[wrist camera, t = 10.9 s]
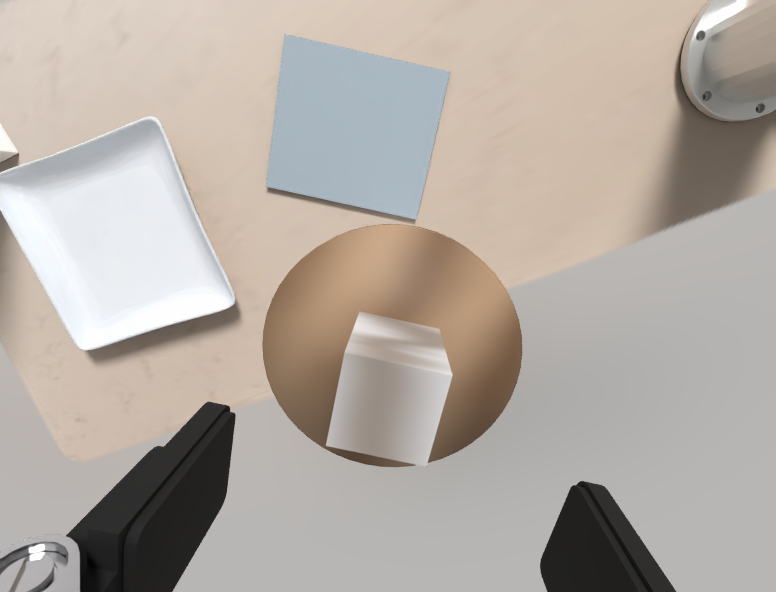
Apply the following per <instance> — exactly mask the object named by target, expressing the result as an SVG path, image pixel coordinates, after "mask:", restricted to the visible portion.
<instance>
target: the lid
mask: <svg viewBox="0 0 776 592" xmlns="http://www.w3.org/2000/svg"><path fill="white" fill-rule="evenodd" d="M263 359H264V365H265V369H266V374H267V378H268V380H269V383H270V386H271V389H272V391H273V393H274V395H275V397H276V399H277V401H278V403H279V405H280V406H281V407H282V409H283V410H284V412H285V413H286V415H287V416H288V417H289V419H290V420H291V421H292V422H293V423H294V424H295V425H296V426H297V428H298V429H300V430H301V431H302V432H303V433H304V434H305V435H306V436H307V437H309V438H310V439H311V440H313V441H314V442H316V443H317V444H319V445H320V446H321V447H323V448H325V449H327V450H329V451H330V452H332V453H334V454H336V455H339V456H342V457H344V458H346V459H349V460H352V461H356V462H359V463H363V464H368V465H375V466H382V467H404V466H414V465H420V466H425V467H426V466H427V463H429V462H432V461H435V460H439V459H442V458H444V457H447V456H449V455H451V454H453V453H456V452H458V451H459V450H461V449H463V448H464V447H466V446H468V445H469V444H471V443H472V442H473V441H475V440H476V439H477V438H479V437H480V436H481V435H482V434H483V433H484V432H485V431H486V430H487V429H488V428H489V427H490V426H491V425H492V424H493V423H494V422H495V421H496V419H497V418H498V417H499V416H500V414H501V413H502V412H503V410H504V408H505V407H506V405H507V403H508V402H509V400H510V398H511V396H512V393H513V391H514V388H515V386H516V383H517V380H518V376H519V372H520V368H521V359H522V335H521V329H520V324H519V319H518V316H517V313H516V310H515V307H514V304H513V302H512V300H511V298H510V296H509V294H508V292H507V290H506V289H505V287H504V286H503V284H502V283H501V281H500V280H499V278H498V277H497V275H496V274H495V273H494V272H493V271H492V270H491V269H490V268H489V267H488V266H487V265H486V263H485V262H483V261H482V260H481V259H480V258H479V257H477V256H476V255H475V254H474V253H473V252H471V251H470V250H469V249H468V248H466V247H465V246H463V245H461V244H460V243H458V242H456V241H455V240H453V239H451V238H449V237H447V236H444V235H442V234H440V233H438V232H435V231H431V230H428V229H424V228H421V227H415V226H409V225H399V224H383V225H374V226H367V227H363V228H359V229H355V230H351V231H348V232H346V233H343V234H341V235H338V236H336V237H334V238H332V239H330V240H329V241H327V242H325V243H323V244H322V245H320V246H318V247H317V248H315V249H314V250H313V251H311V252H310V253H309V254H307V255H306V256H305V257H304V258H302V259H301V260H300V261H299V262H298V263H297V264H296V265H295V266H294V267H293V268H292V269H291V270H290V272H289V273H288V274H287V276H286V277H285V278H284V280H283V281H282V283H281V284H280V286H279V287H278V289H277V291H276V293H275V295H274V297H273V299H272V301H271V304H270V307H269V309H268V312H267V316H266V320H265V325H264V330H263Z"/></svg>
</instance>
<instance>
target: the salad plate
mask: <svg viewBox="0 0 776 592" xmlns="http://www.w3.org/2000/svg"><path fill="white" fill-rule="evenodd" d="M0 211H1V212H2V214H3V216H4V218H5V220H6V222H7V223H8V225H9V227H10V229H11V231H12V232H13V234H14V236H15V238H16V240H17V241H18V243H19V245H20V247H21V249H22V250H23V252H24V254H25V256H26V257H27V259H28V261H29V263H30V264H31V266H32V268H33V270H34V272H35V273H36V275H37V277H38V279H39V281H40V282H41V284H42V286H43V288H44V289H45V291H46V293H47V295H48V297H49V298H50V300H51V302H52V304H53V306H54V307H55V309H56V311H57V313H58V315H59V316H60V318H61V320H62V322H63V324H64V326H65V328H66V329H67V331H68V333H69V335H70V336H71V338H72V340H73V341H74V343H75V344H76V346H77V347H78V348H79V349H81V350H84V351H89V350H94V349H98V348H101V347H104V346H107V345H110V344H113V343H116V342H119V341H122V340H125V339H128V338H131V337H134V336H137V335H140V334H144V333H147V332H150V331H153V330H156V329H159V328H163V327H166V326H169V325H173V324H177V323H180V322H184V321H187V320H191V319H195V318H199V317H202V316H206V315H210V314H214V313H217V312H220V311H223V310H226V309H228V308H230V307H231V306H233V305H234V304H235V301H236V295H235V292H234V290H233V288H232V285H231V283H230V281H229V279H228V277H227V275H226V273H225V271H224V269H223V267H222V265H221V263H220V261H219V259H218V257H217V255H216V253H215V251H214V249H213V247H212V244H211V242H210V240H209V238H208V236H207V234H206V232H205V230H204V228H203V225H202V223H201V221H200V219H199V216H198V214H197V212H196V209H195V207H194V204H193V202H192V199H191V197H190V194H189V192H188V190H187V187H186V184H185V182H184V179H183V176H182V174H181V171H180V168H179V166H178V163H177V160H176V158H175V155H174V153H173V150H172V147H171V145H170V142H169V140H168V137H167V135H166V133H165V130H164V128H163V126H162V124H161V123H160V121H159V120H158V119H157V118H155V117H146V118H143V119H140V120H137V121H135V122H132V123H129V124H127V125H125V126H122V127H120V128H117V129H115V130H113V131H110V132H108V133H105V134H103V135H101V136H98V137H96V138H93V139H91V140H88V141H86V142H83V143H81V144H78V145H76V146H73V147H71V148H68V149H66V150H63V151H60V152H58V153H55V154H53V155H50V156H47V157H44V158H41V159H38V160H35V161H31V162H28V163H25V164H22V165H19V166H16V167H13V168H10V169H7V170H5V171H2V172H0Z"/></svg>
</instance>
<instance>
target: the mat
mask: <svg viewBox="0 0 776 592" xmlns="http://www.w3.org/2000/svg"><path fill="white" fill-rule="evenodd" d="M449 75H450V72H449V71H444V70H440V69H436V68H431V67H427V66H422V65H418V64H414V63H409V62H405V61H401V60H396V59H392V58H387V57H383V56H379V55H374V54H370V53H365V52H361V51H357V50H352V49H348V48H344V47H339V46H335V45H330V44H326V43H322V42H317V41H313V40H308V39H304V38H300V37H295V36H291V35H286V34H285V36H284V44H283V52H282V61H281V69H280V77H279V85H278V93H277V101H276V109H275V118H274V126H273V134H272V142H271V150H270V158H269V167H268V175H267V183H266V187H270V188H275V189H279V190H284V191H288V192H293V193H297V194H302V195H307V196H311V197H316V198H320V199H325V200H329V201H334V202H338V203H343V204H348V205H352V206H357V207H361V208H366V209H370V210H375V211H379V212H384V213H389V214H393V215H398V216H402V217H407V218H411V219H417V215H418V211H419V206H420V202H421V197H422V193H423V189H424V184H425V180H426V176H427V171H428V167H429V162H430V158H431V154H432V149H433V145H434V141H435V136H436V132H437V127H438V123H439V119H440V114H441V110H442V105H443V101H444V97H445V92H446V88H447V84H448V79H449Z"/></svg>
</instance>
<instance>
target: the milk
mask: <svg viewBox="0 0 776 592" xmlns="http://www.w3.org/2000/svg"><path fill="white" fill-rule="evenodd" d="M16 154H18V151H17V150H16V148H15V146H14V145H13V143H12V142H11V140H10V138H9V137H8V135H7V134H6V132H5V130H4V129H3V127H2V126H1V124H0V163H1V162H2V161H4V160H6V159H8V158H10V157H12V156H14V155H16Z"/></svg>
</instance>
